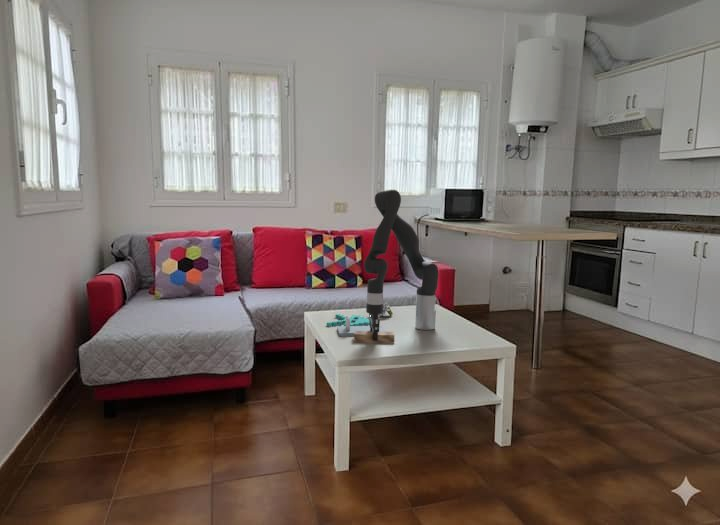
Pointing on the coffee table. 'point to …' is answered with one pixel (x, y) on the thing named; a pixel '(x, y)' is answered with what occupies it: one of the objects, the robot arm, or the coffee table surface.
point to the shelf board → (368, 336)
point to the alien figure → (354, 321)
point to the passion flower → (386, 309)
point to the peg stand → (353, 328)
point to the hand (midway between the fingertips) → (373, 338)
